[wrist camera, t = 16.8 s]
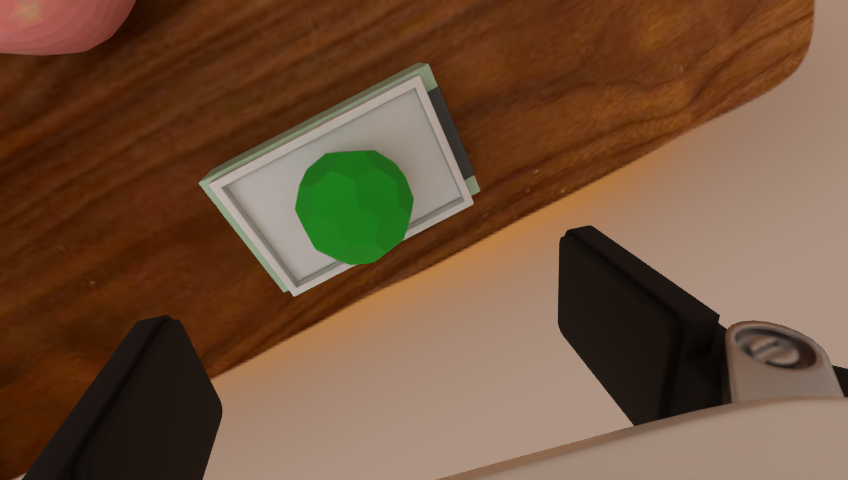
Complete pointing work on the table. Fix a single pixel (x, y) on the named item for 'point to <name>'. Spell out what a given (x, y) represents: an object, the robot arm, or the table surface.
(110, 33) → the apple
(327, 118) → the scale
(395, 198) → the polyhedron
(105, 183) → the table surface
